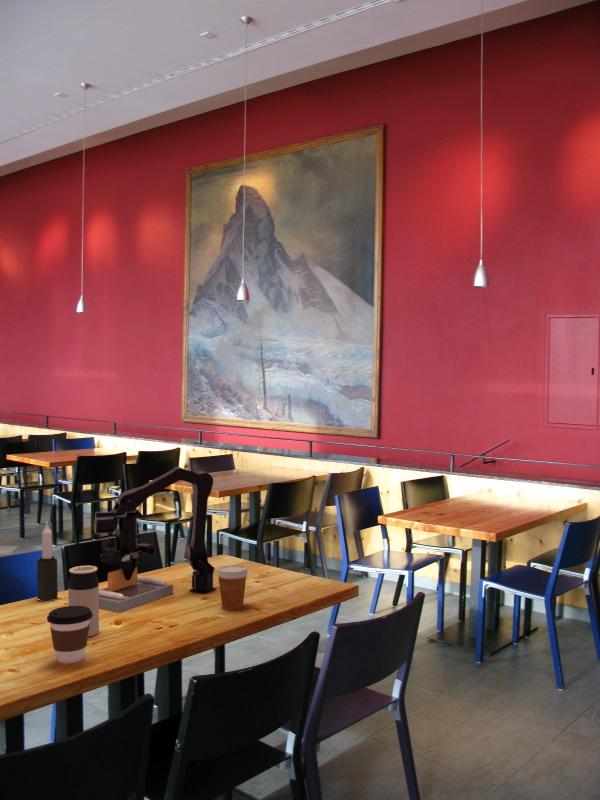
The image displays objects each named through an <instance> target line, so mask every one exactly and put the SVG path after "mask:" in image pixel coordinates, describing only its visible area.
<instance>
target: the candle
mask: <svg viewBox="0 0 600 800" xmlns="http://www.w3.org/2000/svg"><path fill="white" fill-rule="evenodd" d="M49 526H50V525H49V522H48V521H46V522H45V525H44V529H43V531H42V533H41V537H42V538H41V543H42V545H41V549H42V551H41V552H42V553H41V557H39V559H37V560H36V578H37V579H36V582H37V586H36V590H37V591H36V592H37V593H36V597H37V598H38V599H40V600H42V601H49V600H52V599H56V598H58V593H59V592H58V559H57V558H56V557H55V556H53V537H52V536H53V532H52V530H51V529H50V527H49ZM37 598H36V599H37ZM42 601H41V602H42ZM52 601H53V600H52ZM49 602H50V601H49Z"/></svg>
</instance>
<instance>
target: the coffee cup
mask: <svg viewBox="0 0 600 800" xmlns="http://www.w3.org/2000/svg"><path fill="white" fill-rule="evenodd" d="M92 616H93V613H92V612H91V610H90V608H88V607H85V606H69V605H68V606H62V607H56V608H55V609H52V610H50V612H48V615H47V616H46V621H47V622H48V623H50V627H49V628H50V634H51V641H52V646H53V649H54V654H55V658H56V660H57V662H58V663H59V664H63V665H64V664H67V665H69V664H75V663H79V662H81V661H82V660H83V659H84V657H85V654H86V647H87V645H88V640H89V639H88V638H89V637H88V633H89V626H90V623H89V621H90V619H91V618H92Z"/></svg>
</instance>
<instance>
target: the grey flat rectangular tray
mask: <svg viewBox="0 0 600 800" xmlns="http://www.w3.org/2000/svg"><path fill="white" fill-rule="evenodd" d="M170 594H171V595H173V594H174V584H172V583H171V584H170V583H167V582H166V580H165V579H159V578H155V577H148V576H145V575H143V576H142V575H138V574H137V584H134V585H131V586H128V587H125V588H122V589H118V590H115V591H108V586H107V587H104V588H101V589H100V588H99V609H101V608H102V610H105V609H106V610H105V611H110V610H111V612H114V613H122V612H125V611H127V610H131V609H133V608H136V607H139V606H142V605H145V604H149V603H152V602H154V601H156V599H157V600H160V599H162V598H165V597H168V596H171V595H170ZM167 595H168V596H167ZM164 596H165V597H164ZM161 597H162V598H161ZM159 598H160V599H159Z"/></svg>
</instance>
